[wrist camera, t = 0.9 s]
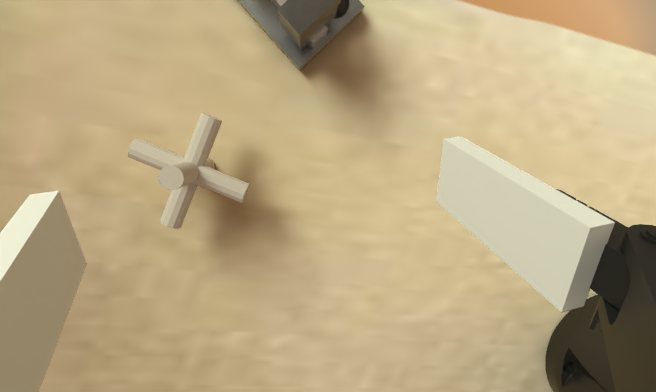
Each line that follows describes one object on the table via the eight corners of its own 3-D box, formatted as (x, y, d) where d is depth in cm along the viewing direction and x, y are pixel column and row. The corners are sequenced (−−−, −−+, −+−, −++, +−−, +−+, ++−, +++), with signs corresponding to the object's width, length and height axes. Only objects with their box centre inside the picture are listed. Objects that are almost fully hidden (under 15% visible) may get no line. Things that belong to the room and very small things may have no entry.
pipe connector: (174, 97, 38) (127, 85, 28) (272, 139, 39) (260, 141, 29) (138, 193, 39) (82, 214, 29) (234, 231, 40) (211, 263, 30)
